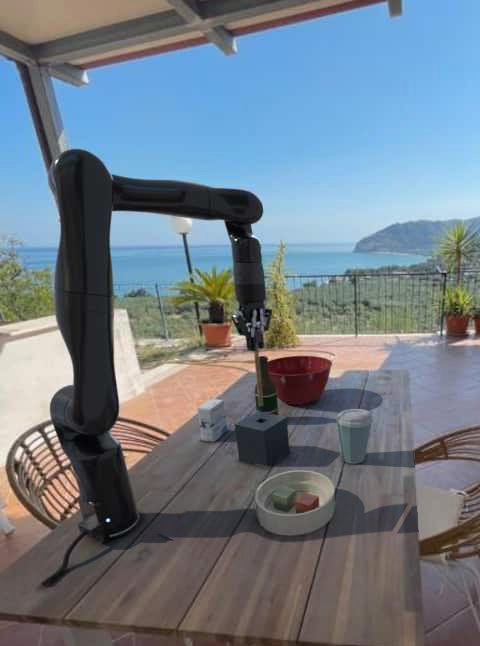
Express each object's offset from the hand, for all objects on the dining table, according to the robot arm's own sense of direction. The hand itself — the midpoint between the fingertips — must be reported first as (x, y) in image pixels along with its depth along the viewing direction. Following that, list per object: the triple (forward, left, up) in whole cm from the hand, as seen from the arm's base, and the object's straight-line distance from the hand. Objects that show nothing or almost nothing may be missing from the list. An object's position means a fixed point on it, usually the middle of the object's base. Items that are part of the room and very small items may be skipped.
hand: (255, 349), depth 103 cm
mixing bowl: (+47, +20, -34) cm, 61 cm away
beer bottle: (+24, +18, -34) cm, 45 cm away
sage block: (-16, -19, -33) cm, 41 cm away
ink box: (+6, +26, -34) cm, 43 cm away
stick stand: (+2, +2, -34) cm, 34 cm away
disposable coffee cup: (+13, -23, -34) cm, 43 cm away
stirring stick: (0, 0, -16) cm, 16 cm away
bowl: (-16, -22, -34) cm, 44 cm away
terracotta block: (-16, -25, -33) cm, 45 cm away
